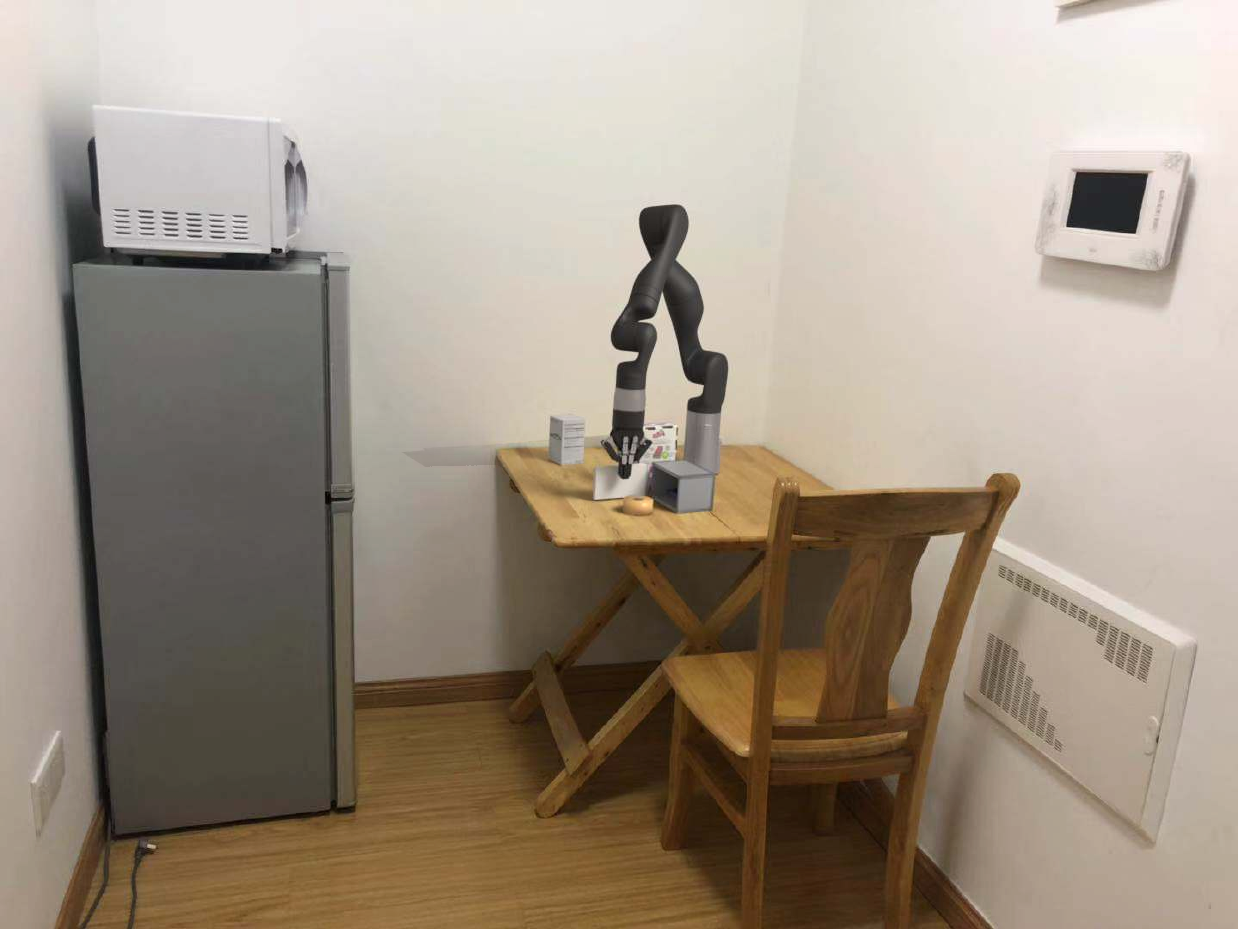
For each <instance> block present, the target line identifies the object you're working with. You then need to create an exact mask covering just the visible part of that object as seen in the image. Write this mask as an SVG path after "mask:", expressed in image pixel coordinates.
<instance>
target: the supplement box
mask: <svg viewBox="0 0 1238 929" xmlns="http://www.w3.org/2000/svg"><path fill="white" fill-rule="evenodd" d="M585 433H586V419H585V418H582V417H580V416H577V415H575V414H573V413H566V414H565V413H564V414H563V413H562V414H552V415H550V416H549V436H548V437H549V439H548V456H547V457H548V461H549V460H550V461H552V462H554V463H556V464H558V465H560V466H571V465H580V464H579V463H581V464H583V463H584V456H585V455H584V454H585V452H584V450H585ZM577 463H578V464H577ZM569 464H570V465H569Z"/></svg>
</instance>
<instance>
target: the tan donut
mask: <svg viewBox="0 0 1238 929" xmlns="http://www.w3.org/2000/svg"><path fill="white" fill-rule="evenodd" d="M622 500H623V502H622V512H623V513H624V514H626V515H628V516H632V515H637V516H636V517H647V516H646V515H648V516H651V515H652V514H653V512H654V510H653V509H654V499H652V498H650V496H648V497H647V496H641V495H630V496H626V497H623V498H622Z"/></svg>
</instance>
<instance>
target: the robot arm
mask: <svg viewBox="0 0 1238 929" xmlns="http://www.w3.org/2000/svg"><path fill="white" fill-rule="evenodd" d="M688 215H689V214H688V212H687V211H686V208H685V207H684V206H682V204H678V203H677V204H676V203H675V204H662V205H653V206H647V207H644V208H642V209H641V211H640V213H639V216H638V227H639V231H640V235H641V238H642V241H643V244H644V246H645V248H646V251H647V254H648V255H649V258H650V260H649V261H648V262H647V263H646V265H645V266H644V267H643V268H642V269H641V270H640V271H639V273H638V274H637V276H636V278H635V280H634V282H633V285H632V288H631V290H630V295H629V297H628V302H627V303H626V305H625V306H624V309H623V310H622V312H621V313H620V315H619V316H618V317H617V319H616V321H615V322H614V324H613V326H612V327H611V328H612V329H611V330H610V331H611V332H610V341H611V346H612V347H613V348H614V349H615V350H617V351H622V352H630V353H632V352H633V353H637V357H636V358H635V359H633V360H627V361H621V362H619V363H618V364H617V366H616V373H615V389H614V393H613V403H612V404H613V405H612V418H611V430H610V433H609V436H608V437H607V438H606V439H601V441H600V445H601V446H602V447H603V448H604V450H605V451H606V453H607V455H608V456H609V457H610V458H611V460H613V461H615V462H616V463H618V465H619V466H618V475H619V476H620V478H621V479H629V477H630V476H631V470H632V463H633V462H635V461H639V460H640V459H641V457H642V456H643V455H644V453H645V452H646V451H647V450H648V448H649V447H650V446H651V444H652V441H651V440H649V439H647V438H646V437H645V436H644V431H643V427H644V424H645V414H646V405H647V404H646V401H647V398H646V388H647V387H646V386H647V375H648V374H647V372H648V368H649V364H650V362H651V358H652V355H653V352H654V349H655V348H656V344H657V340H658V331H657V329H656V327H655V325H654V324H653V323H651V322H645V321H646V320H650V319H653V318H654V317H655V316H656V315H657V312H658V308H659V306H660V305H659V304H660V301H661V297H662V295H663V299H664V302H665V305H666V308H667V312H668V315H669V318H670V320H671V323H672V327H673V328H672V329H673V331H674V334H675V338H676V341H677V346H678V351H679V356H680V362H681V363H680V364H681V367H682V371H683V374H684V376H685V378H686V379H687V381H689V382H690V383H692V384H695V385H699V386H703V387H702V391H701V392H702V393H701V394H700V395H698V396H694V397H690V398H689V399H688V400H687V405H686V416H685V418H686V419H685V428H684V429H685V433H684V446H683V456H682V457H683V458H682V460H688V461H690V462H692V463H694V464H696V465H698V466H700V467H702V468H705V469H707V470H709V471H711V472H713V473H715V474H716V475H719V474H720V468H721V458H722V456H721V455H722V444H723V440H722V439H721V438H720V432H721V431H720V429H721V419H722V410H723V408H722V407H723V404H724V402H725V397H726V391H727V385H728V384H727V383H728V378H729V376H728V375H729V362H728V358H727V357H726V355H725V354H724V353H721V352H717V351H714V350H713V351H712V350H705V349H704V348H703V347H702V345H701V342H700V339H699V334H698V331H699V328H700V324H701V321H702V319H703V317H704V316H703V315H704V312H705V306H704V299H703V297H702V293H701V289H700V286H699V284H698V282H697V281H696V279H695V278H694V276H693V275H692V274H691V272H689V271H688V270H687V269H686V268H685V267H684V266H683V265H681V263H680V262H679V261H677V258H678V256H679V254H680V252H681V249H682V247H683V245H684V243H685V240H686V239H687V236H688V232H689V228H690V227H689V226H690V221H689V220H690V219H689V216H688ZM639 443H640V445H639V446H638V444H639ZM614 445H615V448H616V450H615V449H614V448H613V447H614ZM637 446H638V447H637ZM636 447H637V449H636Z"/></svg>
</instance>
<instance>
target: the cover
mask: <svg viewBox="0 0 1238 929" xmlns="http://www.w3.org/2000/svg"><path fill="white" fill-rule="evenodd" d="M650 465H651V464H650V463H639V464H632V470H631V476H630V477H629V479H621V478H620V476H619V475H618V466H619V464H614V465H613V464H612V465H596V466H594V470H593V472H594V473H593V491H592V492H593V493H592V499H593V500H595V501H596V500H607V499H609V500H610V499H620V498H622V499H623V498H624V497H626V496H630V495H641V496H647V497H649V496H650V492H649V491H650V490H649V480H650Z"/></svg>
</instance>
